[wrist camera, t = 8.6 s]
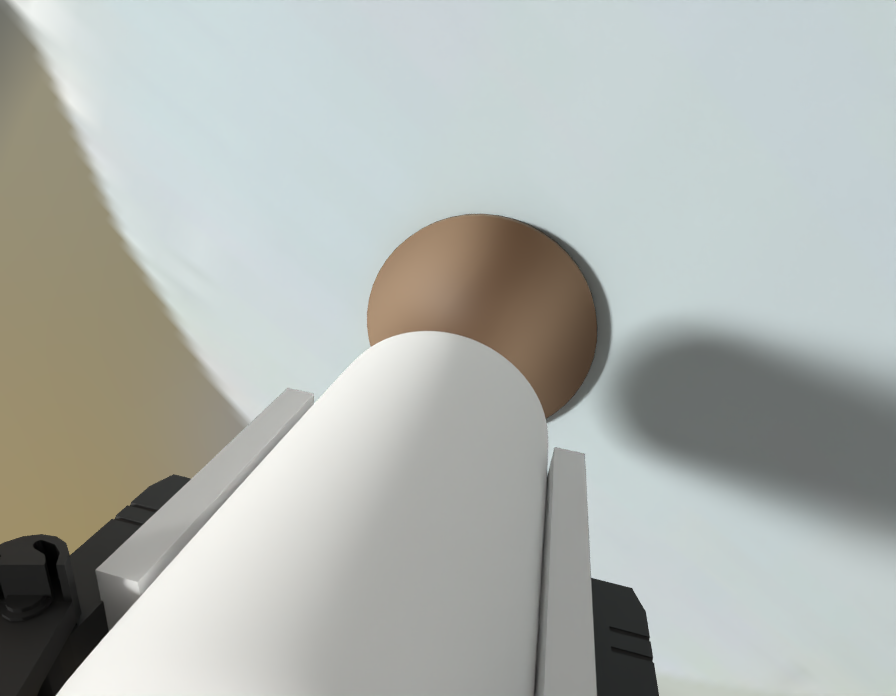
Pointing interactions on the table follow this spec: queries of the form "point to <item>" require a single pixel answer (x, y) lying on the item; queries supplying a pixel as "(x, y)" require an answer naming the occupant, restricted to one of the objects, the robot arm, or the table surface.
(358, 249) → the table surface
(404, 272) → the coaster
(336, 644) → the can
